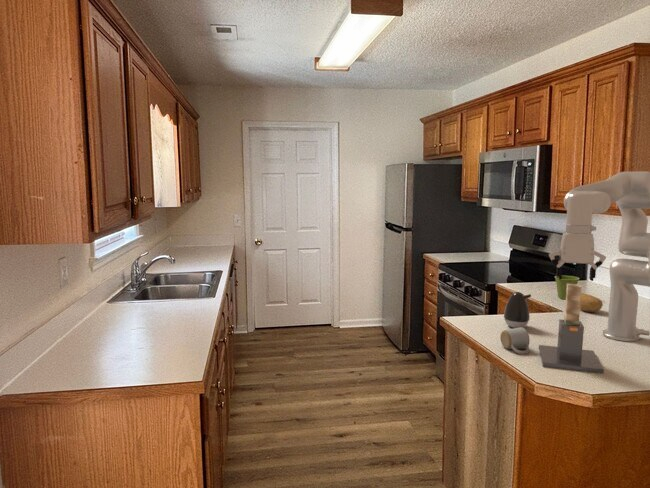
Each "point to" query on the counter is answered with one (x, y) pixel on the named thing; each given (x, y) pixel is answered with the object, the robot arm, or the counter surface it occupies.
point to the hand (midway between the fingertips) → (575, 279)
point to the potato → (590, 303)
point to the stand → (570, 351)
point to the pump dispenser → (517, 310)
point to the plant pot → (564, 284)
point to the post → (572, 304)
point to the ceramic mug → (515, 339)
